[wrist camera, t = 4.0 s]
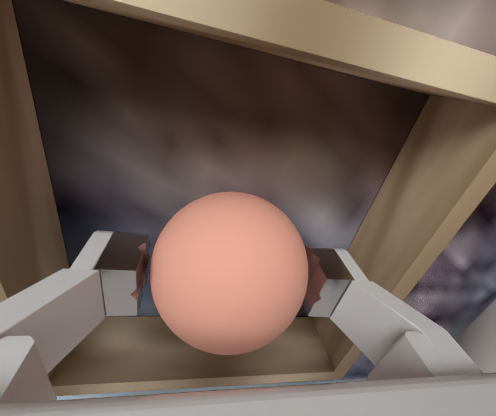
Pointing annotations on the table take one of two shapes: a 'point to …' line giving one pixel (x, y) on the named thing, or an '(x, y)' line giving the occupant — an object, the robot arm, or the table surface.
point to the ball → (229, 273)
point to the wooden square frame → (364, 243)
